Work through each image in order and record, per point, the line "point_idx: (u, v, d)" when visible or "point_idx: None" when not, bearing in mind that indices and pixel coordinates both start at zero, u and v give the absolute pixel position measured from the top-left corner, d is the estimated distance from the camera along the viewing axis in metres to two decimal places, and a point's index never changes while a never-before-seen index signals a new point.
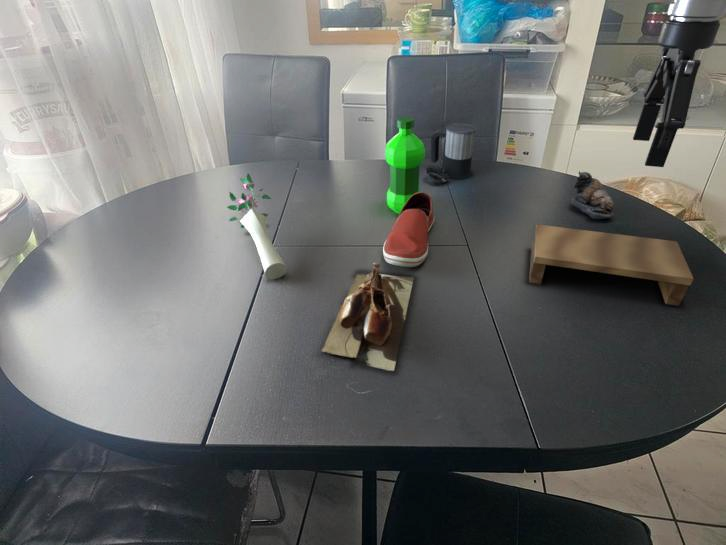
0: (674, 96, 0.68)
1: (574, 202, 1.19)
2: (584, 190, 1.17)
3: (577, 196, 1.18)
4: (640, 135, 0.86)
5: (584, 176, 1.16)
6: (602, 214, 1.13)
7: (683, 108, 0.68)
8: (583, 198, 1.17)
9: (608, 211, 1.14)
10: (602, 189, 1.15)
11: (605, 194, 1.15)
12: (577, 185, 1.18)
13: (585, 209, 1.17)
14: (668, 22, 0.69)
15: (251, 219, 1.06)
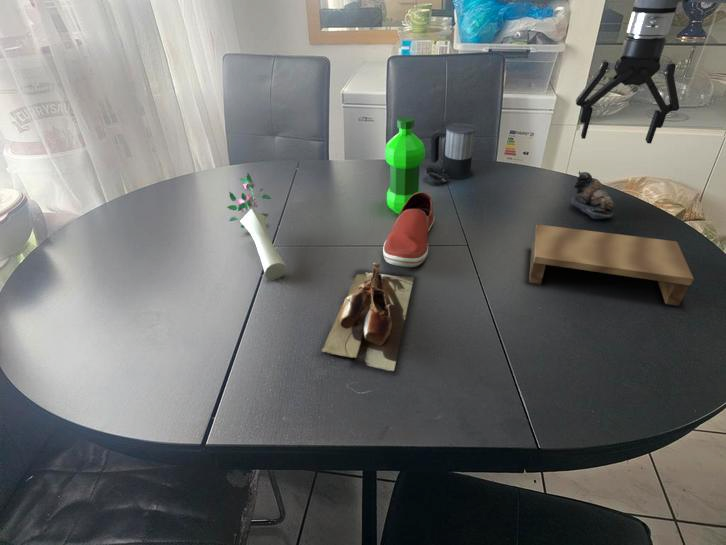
0: None
1: (574, 202, 1.19)
2: (584, 190, 1.17)
3: (577, 196, 1.18)
4: None
5: (584, 176, 1.16)
6: (602, 214, 1.13)
7: None
8: (583, 198, 1.17)
9: (608, 211, 1.14)
10: (602, 189, 1.15)
11: (605, 194, 1.15)
12: (577, 185, 1.18)
13: (585, 209, 1.17)
14: (654, 40, 0.88)
15: (251, 219, 1.06)
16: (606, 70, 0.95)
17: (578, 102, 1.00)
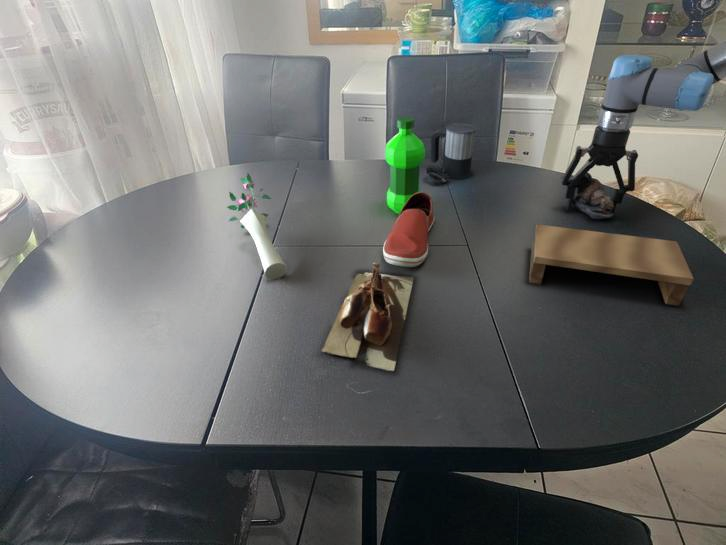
0: (634, 173, 1.09)
1: (574, 202, 1.19)
2: (584, 190, 1.17)
3: (577, 196, 1.18)
4: (570, 206, 1.19)
5: (584, 176, 1.16)
6: (602, 214, 1.13)
7: None
8: (583, 198, 1.17)
9: (608, 211, 1.14)
10: (602, 189, 1.15)
11: (605, 194, 1.15)
12: (577, 185, 1.18)
13: (585, 209, 1.17)
14: (619, 134, 1.03)
15: (251, 219, 1.06)
16: (581, 155, 1.11)
17: (563, 182, 1.16)
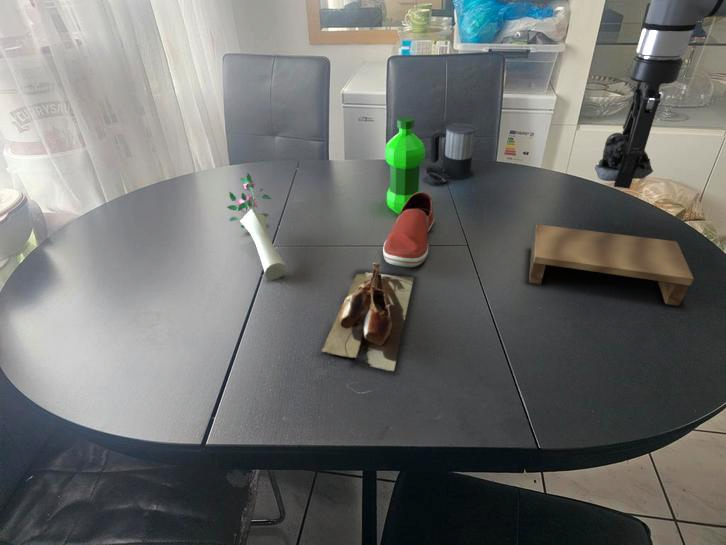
0: None
1: None
2: None
3: None
4: None
5: (624, 137, 0.84)
6: None
7: None
8: None
9: None
10: None
11: None
12: None
13: (635, 174, 0.88)
14: None
15: (251, 219, 1.06)
16: None
17: (643, 153, 0.80)
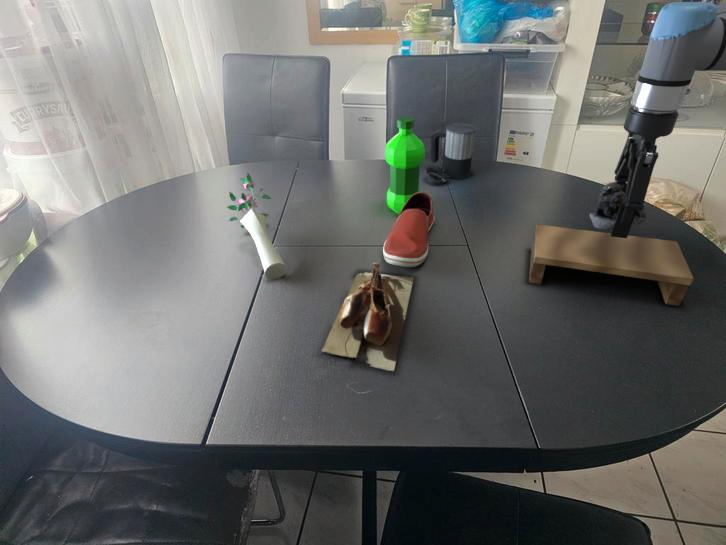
0: None
1: None
2: None
3: None
4: None
5: (620, 188, 0.82)
6: None
7: None
8: None
9: None
10: None
11: None
12: (617, 203, 0.82)
13: None
14: None
15: (251, 219, 1.06)
16: None
17: (642, 206, 0.78)
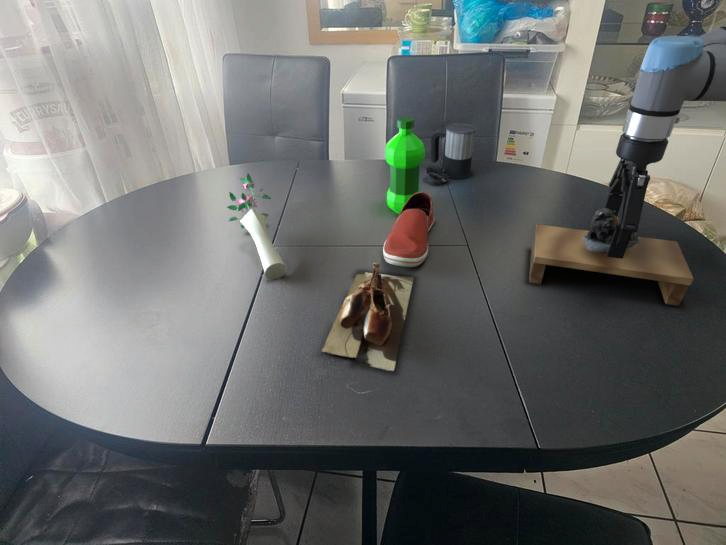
0: None
1: None
2: None
3: None
4: None
5: (612, 213, 0.85)
6: None
7: None
8: None
9: None
10: None
11: None
12: (609, 228, 0.85)
13: None
14: None
15: (251, 219, 1.06)
16: None
17: (637, 228, 0.78)
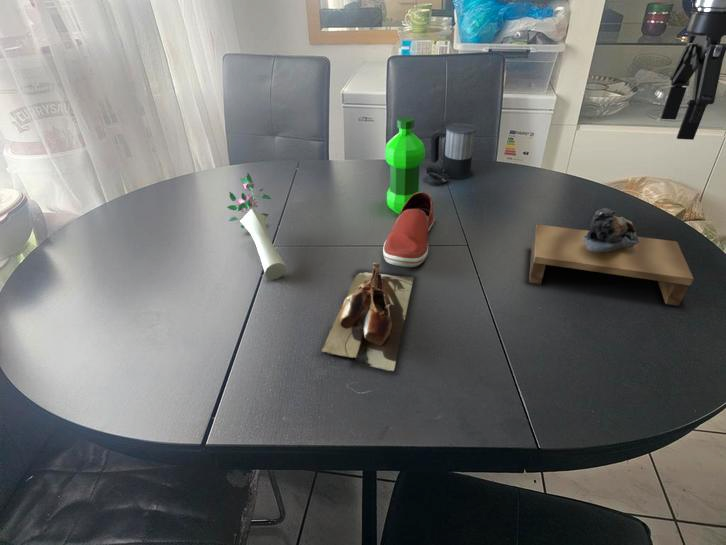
0: None
1: (614, 247, 0.87)
2: (614, 227, 0.87)
3: (613, 239, 0.87)
4: None
5: (612, 213, 0.85)
6: None
7: None
8: (619, 235, 0.88)
9: None
10: None
11: None
12: (609, 228, 0.85)
13: (622, 245, 0.89)
14: None
15: (251, 219, 1.06)
16: None
17: (713, 100, 0.80)
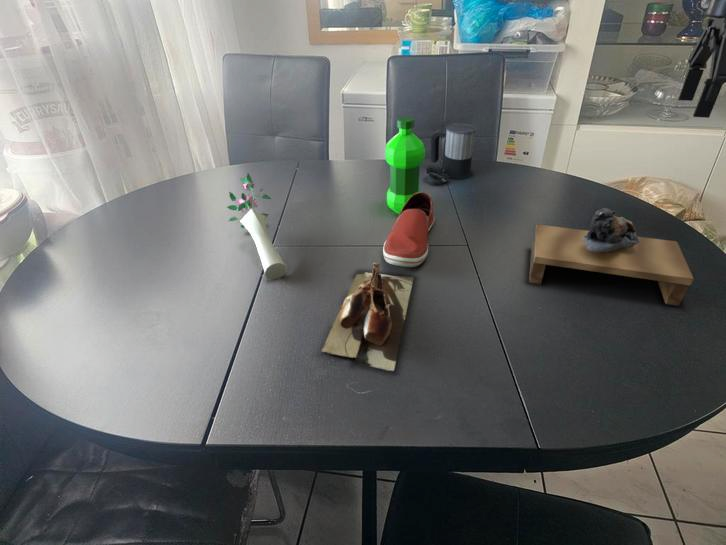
0: None
1: (614, 247, 0.87)
2: (614, 227, 0.87)
3: (613, 239, 0.87)
4: None
5: (612, 213, 0.85)
6: None
7: None
8: (619, 235, 0.88)
9: None
10: None
11: None
12: (609, 228, 0.85)
13: (622, 245, 0.89)
14: None
15: (251, 219, 1.06)
16: None
17: None
